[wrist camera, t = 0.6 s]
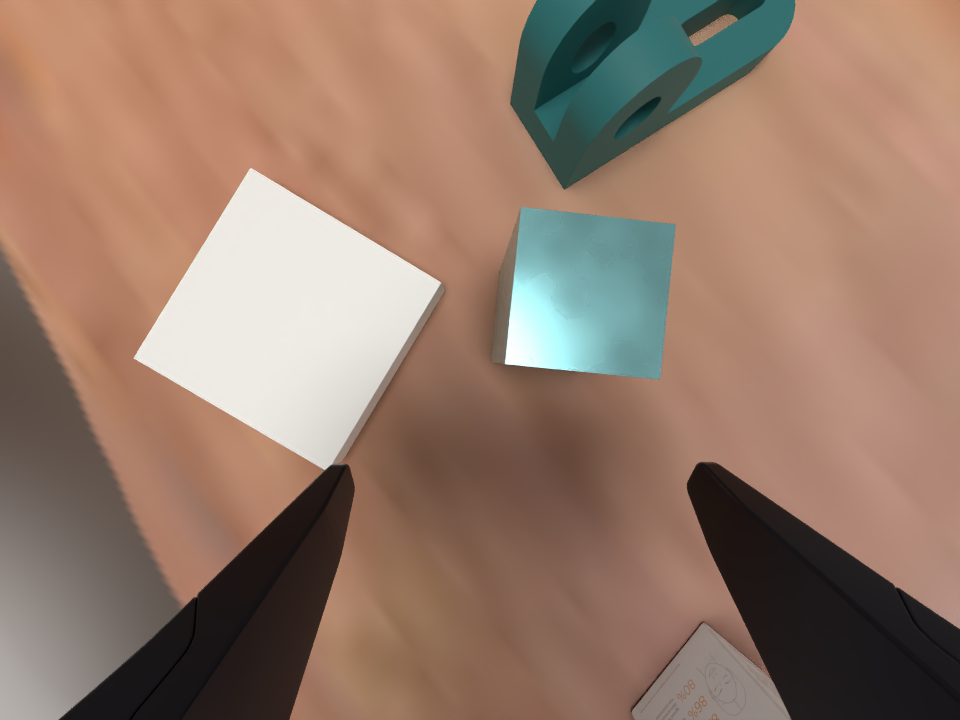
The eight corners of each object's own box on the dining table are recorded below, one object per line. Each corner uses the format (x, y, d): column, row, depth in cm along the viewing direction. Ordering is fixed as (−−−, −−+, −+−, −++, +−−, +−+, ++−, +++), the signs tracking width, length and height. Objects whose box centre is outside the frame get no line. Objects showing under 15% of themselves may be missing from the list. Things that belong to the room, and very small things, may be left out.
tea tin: (578, 370, 23) (660, 379, 13) (490, 361, 23) (505, 363, 13) (587, 281, 23) (675, 224, 13) (499, 272, 23) (521, 207, 13)
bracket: (563, 191, 23) (610, 106, 16) (509, 105, 23) (529, -23, 15) (782, 52, 24) (935, -98, 16) (731, -32, 24) (860, -227, 16)
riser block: (346, 457, 23) (327, 471, 20) (177, 358, 23) (133, 358, 20) (445, 292, 24) (441, 282, 21) (279, 192, 23) (250, 167, 20)
